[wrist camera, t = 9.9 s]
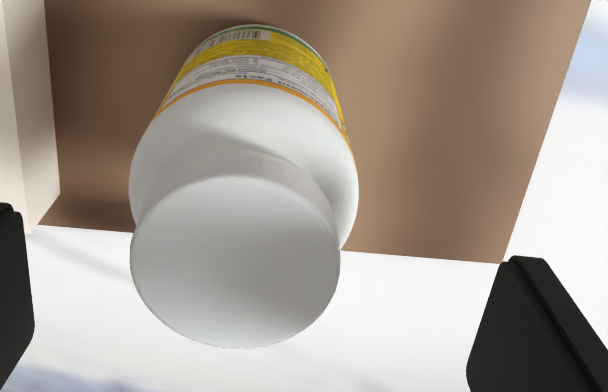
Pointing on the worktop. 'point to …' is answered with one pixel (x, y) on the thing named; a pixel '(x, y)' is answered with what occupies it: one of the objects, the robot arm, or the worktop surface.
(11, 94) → the holder
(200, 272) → the supplement bottle
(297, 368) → the worktop surface
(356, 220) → the board
